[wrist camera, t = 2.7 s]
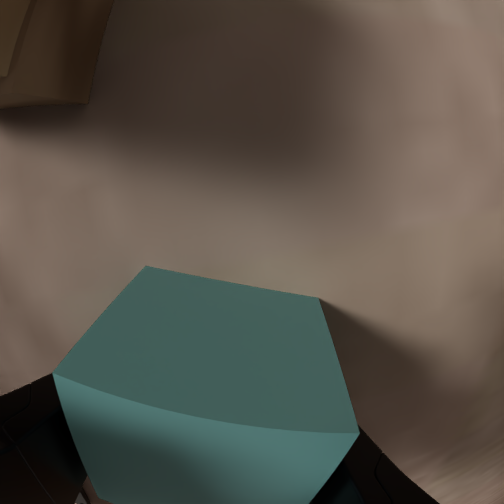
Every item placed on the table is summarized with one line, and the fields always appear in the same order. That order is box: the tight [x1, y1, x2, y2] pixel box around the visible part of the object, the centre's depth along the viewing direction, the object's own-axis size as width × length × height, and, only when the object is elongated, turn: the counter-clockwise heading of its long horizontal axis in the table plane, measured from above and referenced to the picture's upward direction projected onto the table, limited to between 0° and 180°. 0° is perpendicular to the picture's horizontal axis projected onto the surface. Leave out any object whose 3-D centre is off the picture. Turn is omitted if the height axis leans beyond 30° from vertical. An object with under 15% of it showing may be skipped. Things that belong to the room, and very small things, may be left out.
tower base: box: [0, 0, 114, 109], centre depth 5 cm, size 6×6×4 cm
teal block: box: [52, 266, 360, 504], centre depth 7 cm, size 5×5×5 cm
